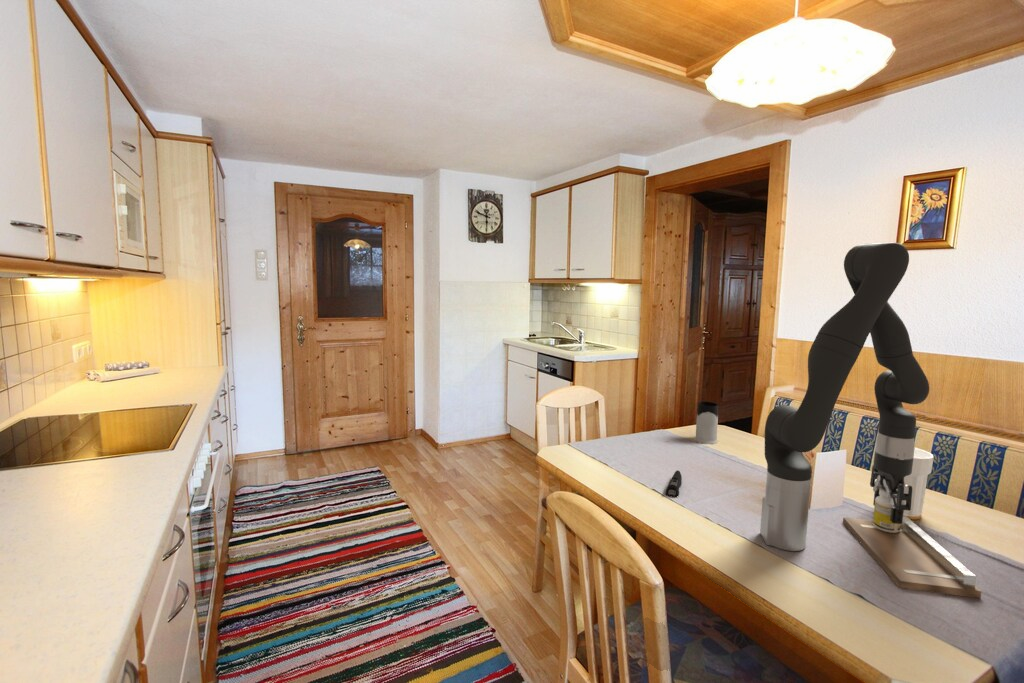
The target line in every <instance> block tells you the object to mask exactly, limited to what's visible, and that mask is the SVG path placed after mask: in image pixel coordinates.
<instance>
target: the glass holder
mask: <svg viewBox="0 0 1024 683" xmlns="http://www.w3.org/2000/svg"><path fill="white" fill-rule="evenodd" d="M718 412H719V404H718V403H716V402H712V401H699V402H697V412H696V413H697V414H696V425H695V427H696V428H695V436H694V441H695V442H698V443H700V444H705V445H715V444H718V442H719V440H718V423H719V422H718V420H719V415H718V414H719V413H718Z"/></svg>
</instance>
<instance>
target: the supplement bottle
mask: <svg viewBox="0 0 1024 683" xmlns="http://www.w3.org/2000/svg"><path fill="white" fill-rule="evenodd" d="M879 495H880V496H878V497H876V498H875V506H874V508H873V525H874V526H875V527H876V528H878V529H880V530H882V531H885V532H890V533H897V532H899V531H900V527H901V524H895V523H892V522H891V521H890V518H891V509H892V504H891V500H890V499H889V498H888V496H887V492H886V491H885V490H883V489H882V488H880V489H879ZM893 495H897V494H893ZM895 500H896V501H897V499H895Z"/></svg>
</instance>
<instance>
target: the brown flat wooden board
mask: <svg viewBox="0 0 1024 683" xmlns="http://www.w3.org/2000/svg"><path fill="white" fill-rule="evenodd" d="M842 523H843V525H844V526H845V527H846V528H847V529H848V530H849V532H850V533H851V532H852V533H853V534H852V533H851V534H852V535H853V536H854V537H855V538H856V540H857V541H858V540H859V541H860V542H861V543H860V542H859V541H858V542H859V543H860V545H862V546H863V547H864V549H865V550H866V551H867V552H868V553H869V555H871V556H873V559H874V560H875V562H877V564H878V565H879V566H880V567H881V568H882V570H884V571H885V573H886V572H887V573H886V574H887V575H888V576H889V577H890V579H891V580H892V581H893V582H894V583H895V584H896V586H898V587H899V588H901V589H907V588H908V589H909V590H915V589H916V591H922V590H923V591H925V592H930V591H931V592H930V593H938V594H947V595H954V596H960V597H969V598H977V599H981V597H982V590H981V589H980V588H979V587H977V586H976V585H975V588H972V587H964V586H962V585H961V584H960V583H959V582H958V581H957V580H956V579H955V578H954V577H953V576H952V575H950V574H949V573H948V572H947V571H946V570H945V569H944V568H943V567H942V566H941V565H939V564H938V563H937V562H936V561H935V560H934V559H933V558H932V557H931V556H930V555H929V554H928V553H926V552H925V551H924V550H923V549H922V548H921V547H920V546H919V545H918V544H917V543H916V542H914V541H913V540H912V539H911V538H910V537H909V536H908V535H907V534H906V533H905V532H904V531H903V530H902V529H900V531H899V532H897V533H890V532H885V531H882V530H880V529H878V528H876V527H875V526H874V525H873V520H871V519H863V518H854V517H843V518H842Z"/></svg>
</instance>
